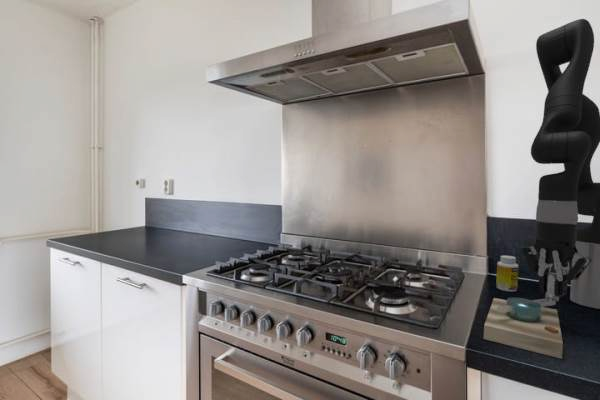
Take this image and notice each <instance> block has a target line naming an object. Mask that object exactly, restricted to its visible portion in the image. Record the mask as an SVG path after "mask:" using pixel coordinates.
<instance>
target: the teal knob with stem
mask: <svg viewBox="0 0 600 400" xmlns="http://www.w3.org/2000/svg"><path fill="white" fill-rule="evenodd" d="M556 280H557V276H556V272H551V271H550V272H548V273H547V283H546V293H545V298H539V299H533V300H532V299H528V298H523V297H508V298H507V299H506V300H507V304H506V306H500V307H497V311H499V312H502V313H503V312H506V314H507V315H509V316H510V317H512V318H515V319H518V320H522V321H528V322H538V321H540V319H541V307H550V306H556V302H559V300H560V297H557V296H555V284H556Z"/></svg>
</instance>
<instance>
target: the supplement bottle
mask: <svg viewBox="0 0 600 400" xmlns="http://www.w3.org/2000/svg"><path fill="white" fill-rule="evenodd" d="M516 262H517V258H516V257H515V256H513V255H500V261H497V263H496V265H497V266H496V283H495V286H496V289H498V290H501V291H503V292H510V293H511V292H512V293H513V292H517V290H518V280H519V264H518V263H516Z"/></svg>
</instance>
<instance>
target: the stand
mask: <svg viewBox="0 0 600 400" xmlns="http://www.w3.org/2000/svg"><path fill="white" fill-rule="evenodd" d="M506 304H507V299H502V298H496V297H493V299H492V302H491V305H490V308H489V310H488V314H487V316H486V320H485V322H484V324H483V325H484V326H483V339H484V340H486V341H491V342H494V343H499V344H502V345H505V346H509V347H514V348H517V349H522V350H526V351H529V352H533V353H536V354H541V355H545V356H549V357H553V358H557V359H563V347H564V343H563V336H562V330H561V325H560V319H559V313H558V309H555V308H550V307H546V306H544V307H541V319H540V321H538V322H528V321H522V320H518V319H515V318H512V317H510V316H509V315H507V314H506V312H503V313H502V312H499V311H497V307H500V306H506Z"/></svg>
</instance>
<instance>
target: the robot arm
mask: <svg viewBox="0 0 600 400" xmlns="http://www.w3.org/2000/svg"><path fill="white" fill-rule="evenodd" d="M535 43H536V44H535V48H536V49H535V50H536V55H537V58H538V62H539V66H540V70H541V73H542V75H543V76H542V77H543V79H544V81H545V84H546V89H547V94H546V96H545V100H544V108H543V117H542V123H541V126H540V128H539V130H538V132H537V133H536V136H535V137H534V139H533V141H532V143H531V147H530V155H531V156H530V157H532V160H533V161H534V162H536V163H537V164H542V165H553V164H563V168H564V170H563V171H560V172H556V173H549V174H544V175H542V176H540V178H539V181H538V195H537V196H538V197H537V199H538V200H537V206H536V213H535V231H534V233H535V234H534V237H535V242H534V243H533V245H532V246H528V247H523V248H522V253H523V255H524V257H525V260H526V262H527V265H528V267H529V270H530V271H531V272H532V273H535V274H537V275H538V288H539V290H540V292H541V293H543V294H546V283H547V273H548V272H551V269H552V267H554V268H553V269H554V271H555V273H556V276H557V280H556V284H555V296H557V297H559V298H562V297H564V296H566V294H568V293H567V292H568V282H570V291H569V292H570V293H569V295H570V296H569V300H570V301H571V302H573V303H576V304H578V305H580V306H583V307H588V308H593V309H596V310H597V309H598V310H600V182H594V180H593V178H592V171H591V163H592V160H593V159H592V158H593V157H594V154H595V152H596V151H597V148H598V146H599V145H600V109H599V107H598V105H597V104H596V103H595V102H594V101H593V100H592V99H591V98H590V97H589V96H587V95H586V94H584V93H583V92H584V88H585V83H586V78H587V76H588V71H589V69H590V66H591V65H590V64H591V61H592V57H593V54H594V53H593V52H594V48H595V34H594V30H593V27H592V24H591V23H590V21H588V20H587V19H585V18H579V19H576V20H574V21H570V22H568V23H565V24H564V25H561V26H559V27H557V28H554V29H552V30H551V29H550V30H549V31H546V32H545V33H542V34H540V35H539V36H538V38H537V39H536V42H535ZM567 63H568V64H567ZM564 64H567V66H566V67H565V69H564V70H563V72H562V70H561V65H564ZM578 215H580V216H586V217H592V218H593V219H592V220H591V221H592V222H591V223H590V224H589V225H588V226H585V227H581V228H578V221H579V216H578ZM537 255H538V256H537ZM538 257H539V259H538ZM570 261H571V268H570ZM553 265H554V266H553Z"/></svg>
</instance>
